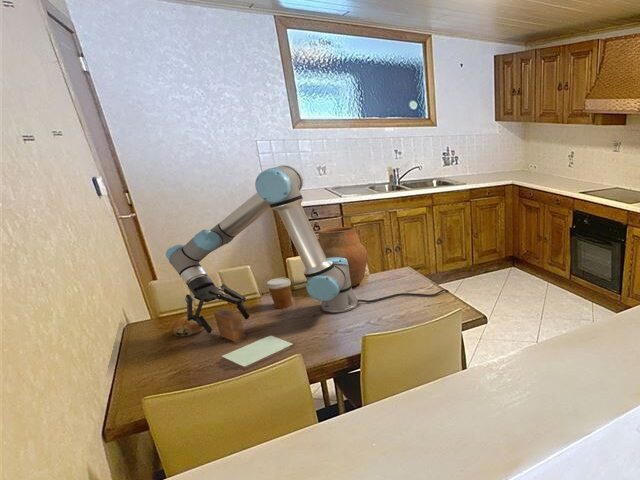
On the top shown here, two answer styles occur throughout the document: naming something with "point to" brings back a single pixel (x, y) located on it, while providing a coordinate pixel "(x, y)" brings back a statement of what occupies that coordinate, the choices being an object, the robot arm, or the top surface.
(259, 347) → the wipe board
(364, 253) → the pot
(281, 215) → the robot arm
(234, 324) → the eraser
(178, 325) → the bread roll
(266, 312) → the top surface
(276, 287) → the disposable coffee cup
